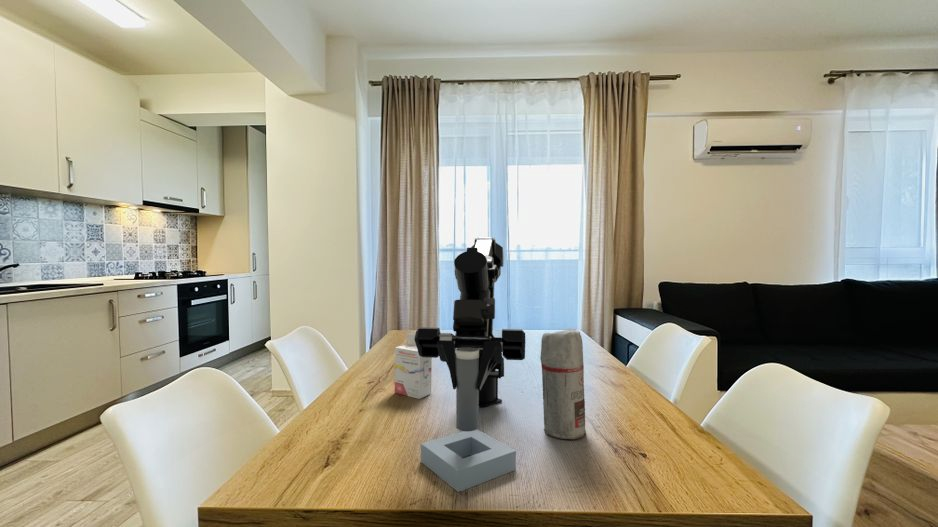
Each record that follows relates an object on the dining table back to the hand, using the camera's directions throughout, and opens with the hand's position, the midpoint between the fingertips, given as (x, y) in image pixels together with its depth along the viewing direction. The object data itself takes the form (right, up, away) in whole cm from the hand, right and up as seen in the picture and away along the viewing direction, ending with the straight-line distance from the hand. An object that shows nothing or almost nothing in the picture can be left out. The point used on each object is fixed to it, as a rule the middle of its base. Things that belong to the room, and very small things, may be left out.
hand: (466, 388), depth 64 cm
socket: (0, -13, +1) cm, 13 cm away
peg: (0, -7, +1) cm, 7 cm away
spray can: (+19, -13, +15) cm, 27 cm away
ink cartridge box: (-14, -13, +38) cm, 42 cm away
